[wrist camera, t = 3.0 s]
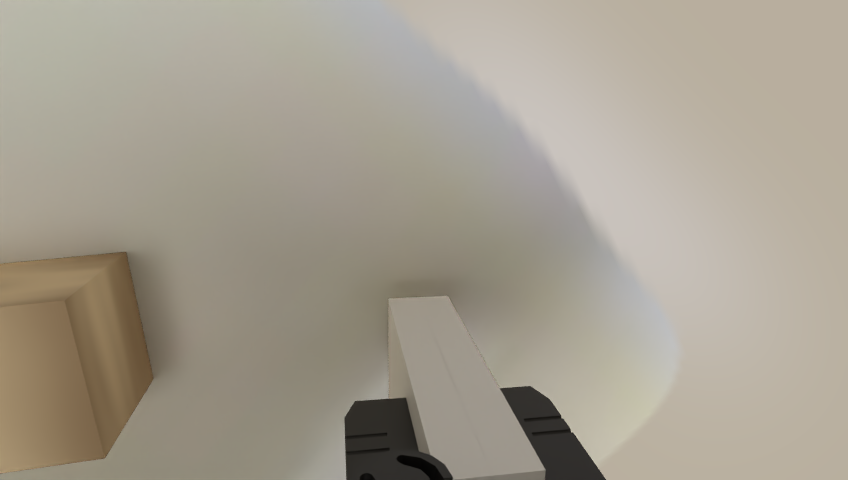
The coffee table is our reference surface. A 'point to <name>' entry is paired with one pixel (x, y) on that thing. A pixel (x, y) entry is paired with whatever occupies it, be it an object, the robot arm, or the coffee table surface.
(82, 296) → the peg
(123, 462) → the coffee table surface
